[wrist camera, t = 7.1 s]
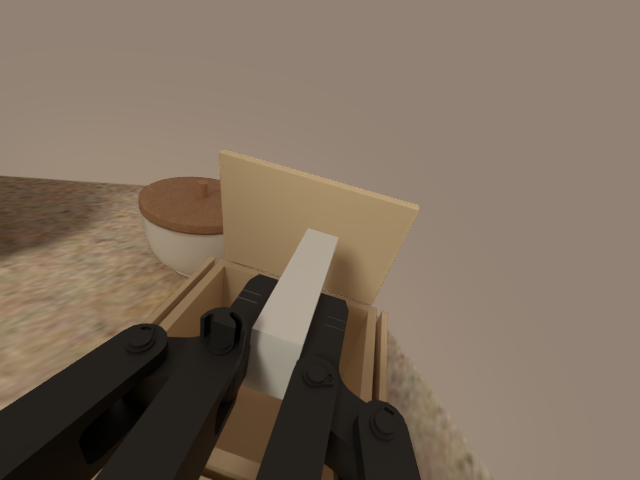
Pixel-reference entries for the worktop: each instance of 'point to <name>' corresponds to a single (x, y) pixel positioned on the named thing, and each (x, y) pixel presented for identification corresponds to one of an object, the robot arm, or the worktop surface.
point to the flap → (310, 222)
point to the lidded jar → (183, 222)
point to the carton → (253, 406)
